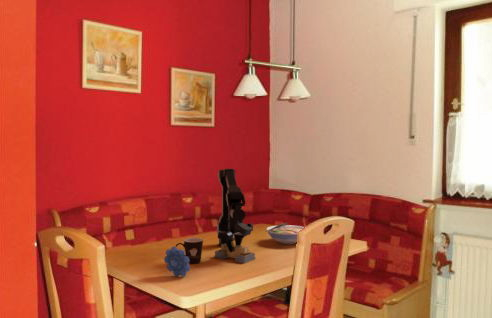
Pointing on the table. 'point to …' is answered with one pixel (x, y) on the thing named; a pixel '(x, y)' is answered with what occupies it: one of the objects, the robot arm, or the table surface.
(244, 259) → the grey frame
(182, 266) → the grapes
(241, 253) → the brown rectangular block
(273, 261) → the table surface
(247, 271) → the table surface
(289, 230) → the ramen bowl
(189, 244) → the coffee mug
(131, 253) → the table surface
